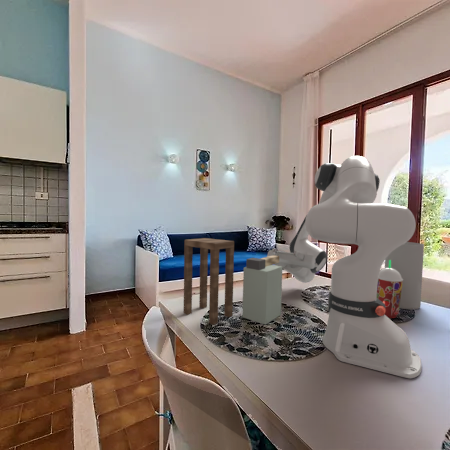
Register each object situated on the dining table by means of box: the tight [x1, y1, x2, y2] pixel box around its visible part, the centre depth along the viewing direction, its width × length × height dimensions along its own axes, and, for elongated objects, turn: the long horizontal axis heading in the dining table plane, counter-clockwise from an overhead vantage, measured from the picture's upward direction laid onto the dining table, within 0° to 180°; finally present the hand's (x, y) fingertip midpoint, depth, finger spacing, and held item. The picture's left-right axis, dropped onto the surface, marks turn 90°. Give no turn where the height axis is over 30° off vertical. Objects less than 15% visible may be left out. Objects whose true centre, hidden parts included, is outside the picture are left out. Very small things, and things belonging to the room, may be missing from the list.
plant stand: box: [183, 237, 235, 326], centre depth 90 cm, size 14×10×26 cm
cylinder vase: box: [384, 241, 425, 311], centre depth 104 cm, size 12×12×25 cm
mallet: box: [245, 255, 279, 270], centre depth 92 cm, size 17×5×3 cm, turn 142°
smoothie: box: [377, 260, 403, 319], centre depth 93 cm, size 8×8×20 cm
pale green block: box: [242, 264, 283, 326], centre depth 90 cm, size 9×11×17 cm
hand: (284, 251), depth 104 cm, fingers open, 8 cm apart
